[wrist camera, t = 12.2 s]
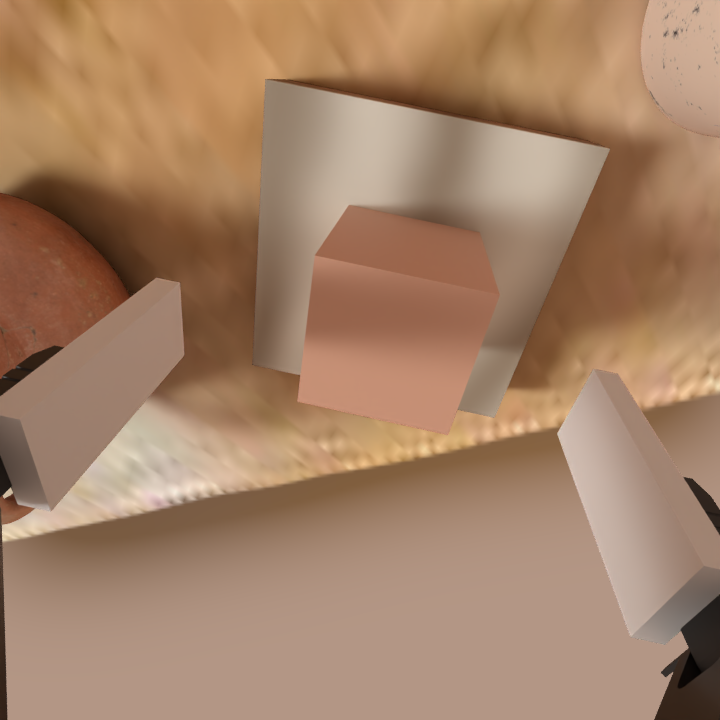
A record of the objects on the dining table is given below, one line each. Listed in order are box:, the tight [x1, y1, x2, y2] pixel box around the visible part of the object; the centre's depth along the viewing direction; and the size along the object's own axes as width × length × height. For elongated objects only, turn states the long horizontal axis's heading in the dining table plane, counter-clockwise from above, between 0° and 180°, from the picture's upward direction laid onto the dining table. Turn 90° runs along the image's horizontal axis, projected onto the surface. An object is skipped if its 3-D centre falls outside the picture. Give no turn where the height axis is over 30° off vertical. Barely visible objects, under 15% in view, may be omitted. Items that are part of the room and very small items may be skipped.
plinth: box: [252, 79, 610, 418], centre depth 23 cm, size 14×14×3 cm
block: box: [297, 205, 500, 435], centre depth 19 cm, size 6×6×7 cm
